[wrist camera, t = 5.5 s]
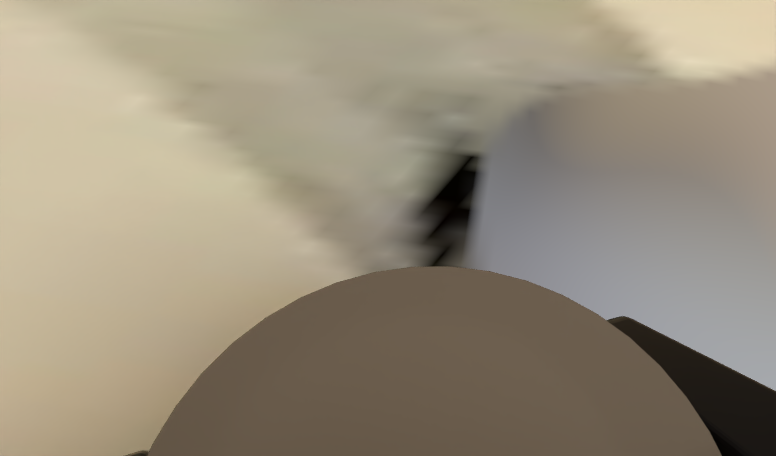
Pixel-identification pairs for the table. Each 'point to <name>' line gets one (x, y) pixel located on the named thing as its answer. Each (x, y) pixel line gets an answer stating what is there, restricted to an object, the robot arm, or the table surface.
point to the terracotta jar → (434, 378)
